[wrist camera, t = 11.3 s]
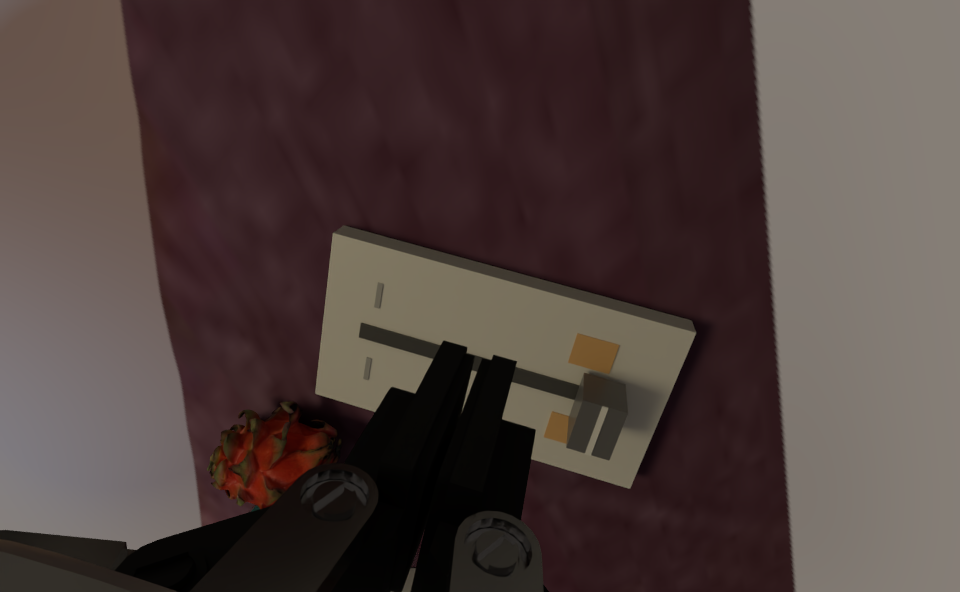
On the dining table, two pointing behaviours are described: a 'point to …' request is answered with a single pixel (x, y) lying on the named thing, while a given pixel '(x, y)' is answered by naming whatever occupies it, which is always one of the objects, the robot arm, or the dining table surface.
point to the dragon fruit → (270, 454)
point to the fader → (597, 416)
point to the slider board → (495, 341)
